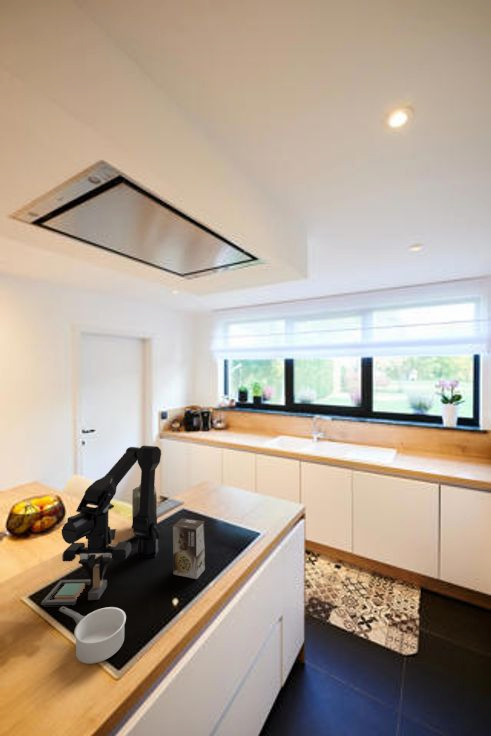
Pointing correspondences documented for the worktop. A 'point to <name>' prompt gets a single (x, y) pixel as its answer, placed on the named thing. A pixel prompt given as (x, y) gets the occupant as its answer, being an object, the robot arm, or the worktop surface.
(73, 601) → the corral
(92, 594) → the pusher
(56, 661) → the worktop surface
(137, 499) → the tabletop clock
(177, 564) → the coffee box
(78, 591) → the tile
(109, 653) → the saucepan
